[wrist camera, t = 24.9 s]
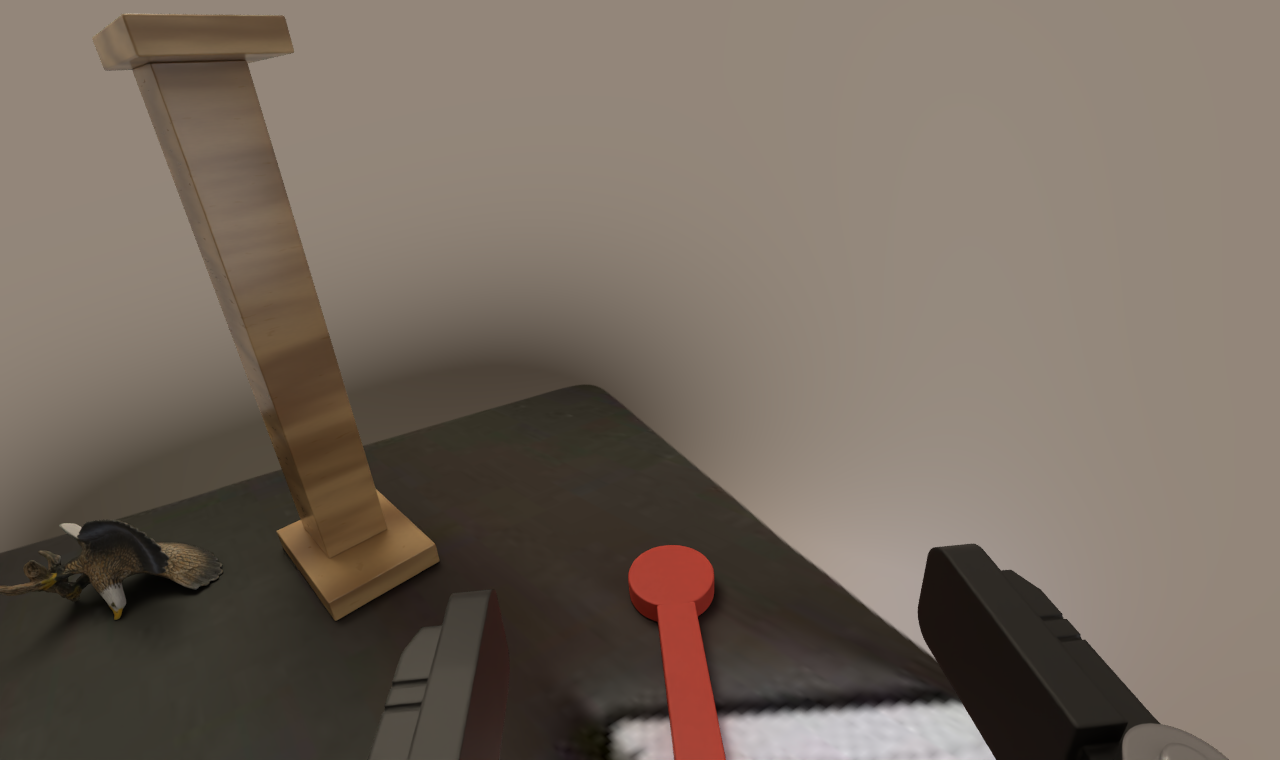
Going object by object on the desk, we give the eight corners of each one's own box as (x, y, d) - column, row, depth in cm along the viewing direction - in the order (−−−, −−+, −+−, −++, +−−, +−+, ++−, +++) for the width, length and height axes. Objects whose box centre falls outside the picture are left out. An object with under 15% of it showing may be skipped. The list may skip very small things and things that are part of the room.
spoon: (847, 1142, 18) (851, 1124, 18) (671, 1165, 18) (669, 1148, 18) (706, 557, 41) (706, 540, 40) (627, 565, 41) (626, 548, 40)
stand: (440, 561, 42) (296, 15, 28) (335, 621, 38) (105, 13, 24) (377, 501, 49) (236, 36, 35) (282, 547, 44) (78, 37, 30)
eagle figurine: (8, 659, 35) (173, 596, 37) (-26, 539, 36) (138, 481, 37) (107, 624, 43) (241, 573, 44) (78, 525, 43) (211, 478, 45)
